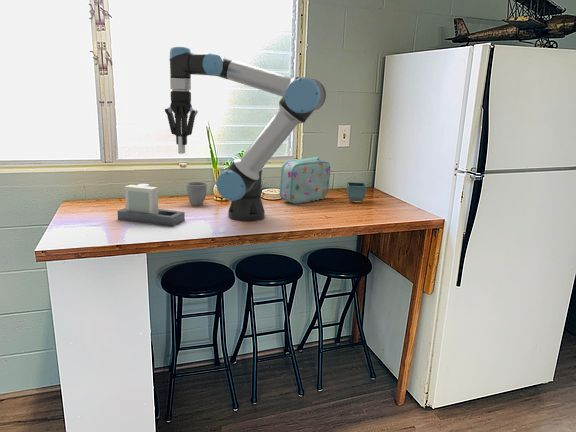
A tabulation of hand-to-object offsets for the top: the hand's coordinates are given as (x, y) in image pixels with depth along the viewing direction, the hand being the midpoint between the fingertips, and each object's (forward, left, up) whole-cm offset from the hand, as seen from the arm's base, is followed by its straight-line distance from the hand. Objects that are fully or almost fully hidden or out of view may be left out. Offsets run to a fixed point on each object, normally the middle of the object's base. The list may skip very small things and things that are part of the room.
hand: (181, 153), depth 183 cm
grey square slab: (+14, +7, -25) cm, 30 cm away
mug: (+7, -25, -27) cm, 37 cm away
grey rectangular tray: (+10, +7, -26) cm, 29 cm away
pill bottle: (+21, -5, -27) cm, 34 cm away
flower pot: (-61, -62, -27) cm, 91 cm away
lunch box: (-37, -53, -27) cm, 70 cm away
